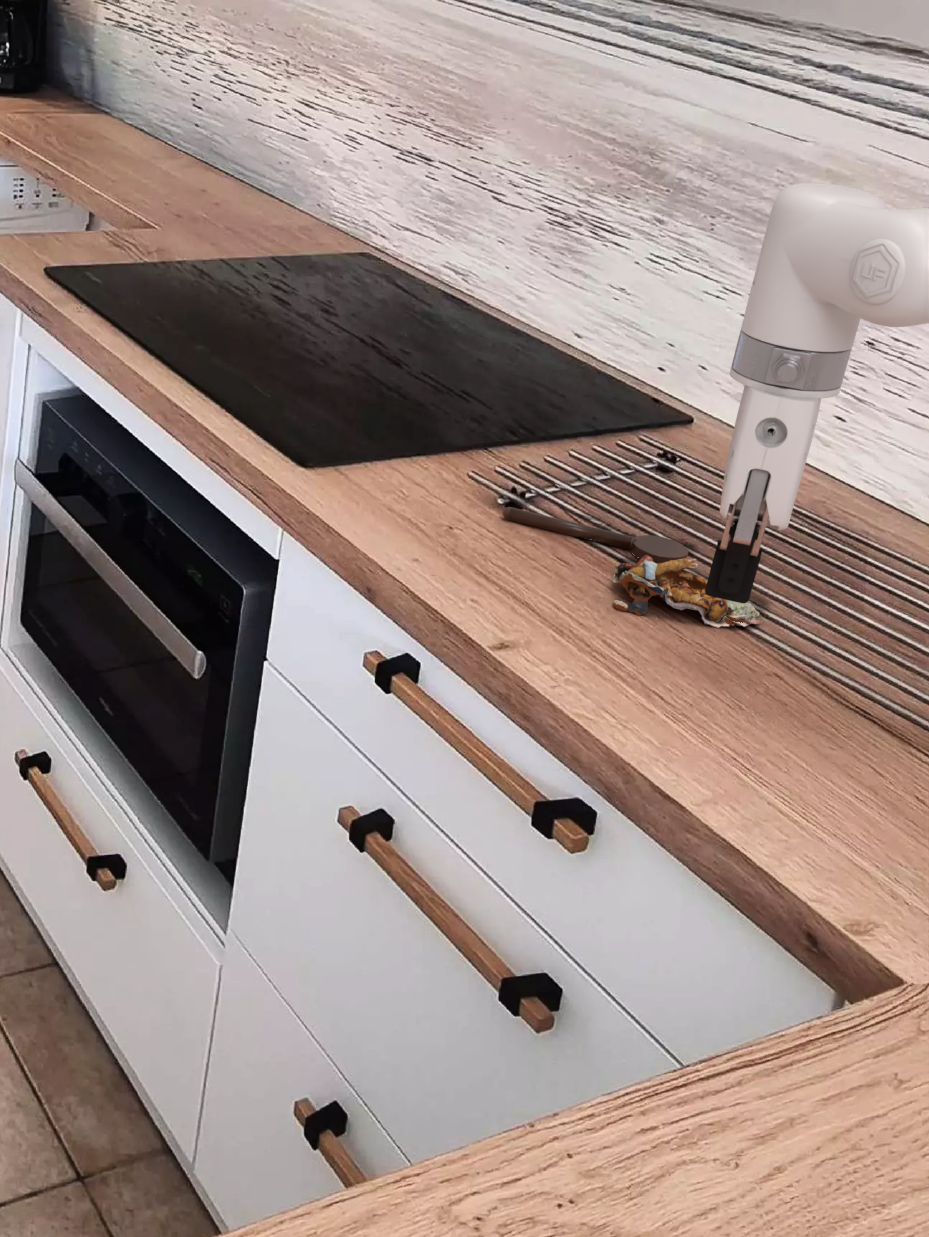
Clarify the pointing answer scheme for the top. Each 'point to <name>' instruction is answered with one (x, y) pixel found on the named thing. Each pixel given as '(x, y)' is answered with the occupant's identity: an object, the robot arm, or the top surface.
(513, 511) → the walnut spoon
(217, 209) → the top surface
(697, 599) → the pastry
